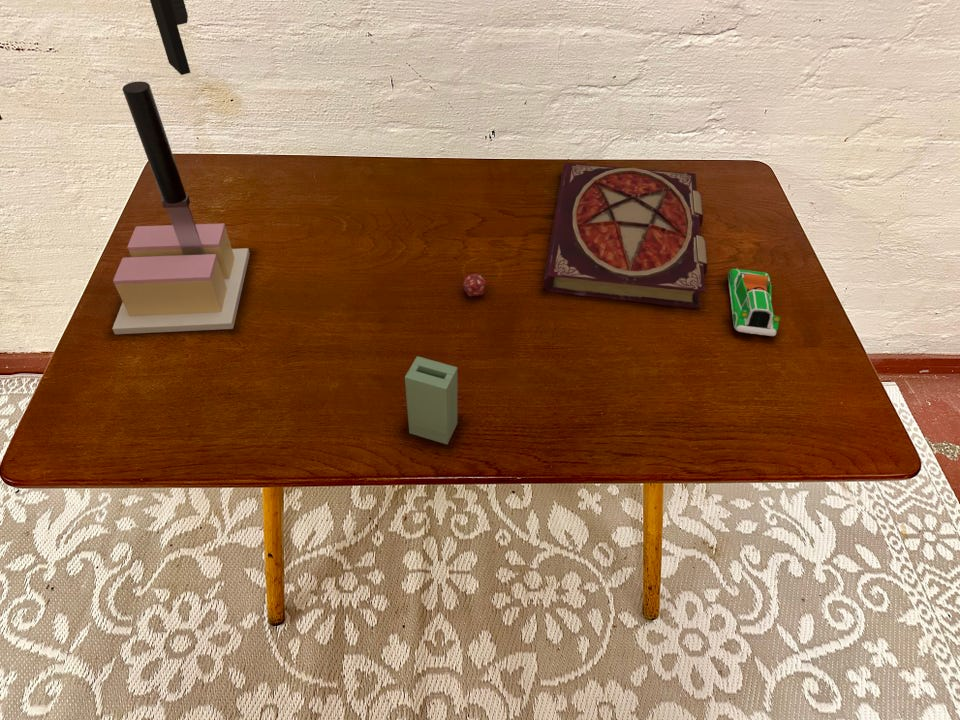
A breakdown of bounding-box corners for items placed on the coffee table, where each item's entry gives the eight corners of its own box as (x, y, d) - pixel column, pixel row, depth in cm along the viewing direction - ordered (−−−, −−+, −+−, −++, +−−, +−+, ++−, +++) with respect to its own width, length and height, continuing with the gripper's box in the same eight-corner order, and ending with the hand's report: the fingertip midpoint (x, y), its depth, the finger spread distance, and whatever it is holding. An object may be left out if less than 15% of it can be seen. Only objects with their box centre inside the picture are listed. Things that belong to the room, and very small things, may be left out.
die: (489, 297, 89) (490, 279, 87) (468, 303, 88) (469, 286, 86) (479, 283, 91) (479, 266, 89) (458, 290, 90) (458, 272, 88)
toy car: (774, 343, 84) (786, 318, 81) (732, 338, 85) (742, 312, 82) (763, 282, 92) (774, 256, 89) (724, 277, 93) (734, 252, 90)
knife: (214, 290, 87) (147, 92, 68) (191, 291, 87) (118, 93, 68) (217, 277, 89) (153, 80, 70) (195, 278, 89) (124, 81, 70)
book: (561, 180, 110) (564, 152, 106) (695, 192, 107) (703, 163, 104) (542, 294, 91) (544, 264, 87) (705, 312, 88) (714, 282, 84)
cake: (233, 329, 84) (219, 287, 79) (114, 334, 83) (93, 293, 78) (250, 253, 94) (238, 213, 89) (144, 257, 93) (127, 217, 88)
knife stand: (447, 444, 72) (446, 389, 66) (409, 433, 73) (404, 377, 67) (457, 423, 74) (457, 367, 68) (420, 412, 75) (417, 355, 69)
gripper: (148, -305, 44) (228, 36, 59) (-370, -303, 33) (-108, 114, 48) (192, -297, 40) (266, 67, 55) (-381, -292, 29) (-91, 159, 44)
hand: (91, 90), depth 52 cm, fingers open, 13 cm apart
